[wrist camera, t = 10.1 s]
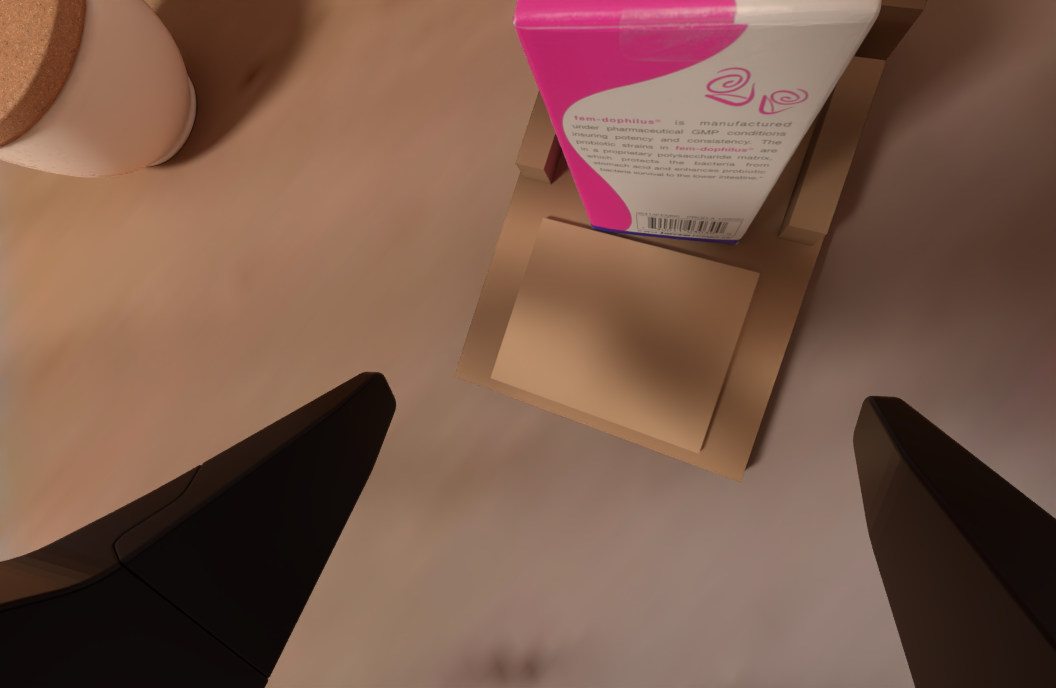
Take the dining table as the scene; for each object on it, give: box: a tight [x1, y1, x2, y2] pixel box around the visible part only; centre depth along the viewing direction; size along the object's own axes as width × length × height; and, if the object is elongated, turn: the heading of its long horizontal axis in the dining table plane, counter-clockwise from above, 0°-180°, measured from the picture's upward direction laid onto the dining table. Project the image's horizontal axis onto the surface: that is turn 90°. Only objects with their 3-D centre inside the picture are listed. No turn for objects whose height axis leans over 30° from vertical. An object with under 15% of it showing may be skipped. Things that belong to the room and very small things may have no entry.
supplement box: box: [513, 0, 882, 245], centre depth 13 cm, size 6×6×12 cm
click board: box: [454, 0, 927, 482], centre depth 18 cm, size 18×12×4 cm, turn 161°
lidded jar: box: [0, 0, 197, 177], centre depth 22 cm, size 11×11×9 cm
